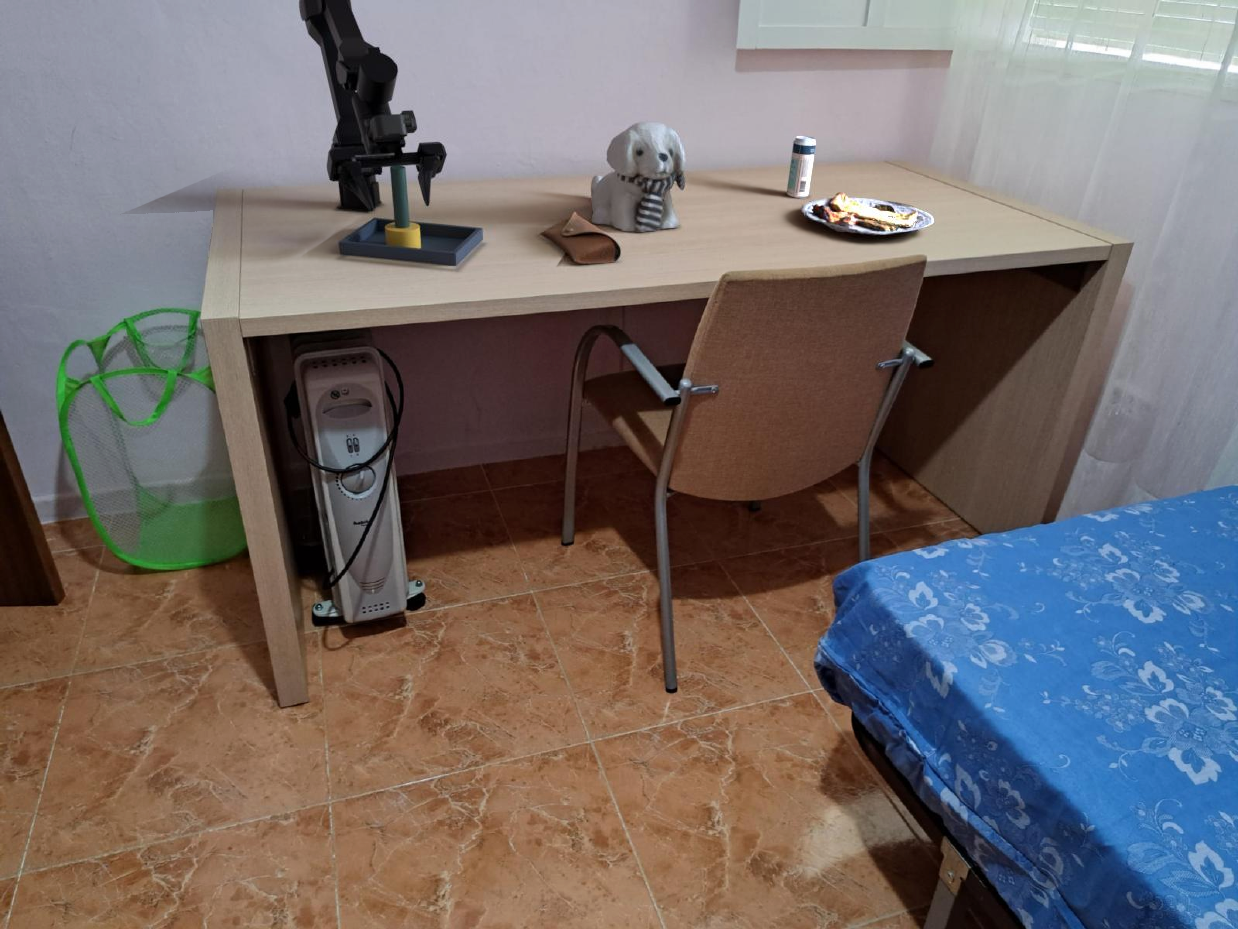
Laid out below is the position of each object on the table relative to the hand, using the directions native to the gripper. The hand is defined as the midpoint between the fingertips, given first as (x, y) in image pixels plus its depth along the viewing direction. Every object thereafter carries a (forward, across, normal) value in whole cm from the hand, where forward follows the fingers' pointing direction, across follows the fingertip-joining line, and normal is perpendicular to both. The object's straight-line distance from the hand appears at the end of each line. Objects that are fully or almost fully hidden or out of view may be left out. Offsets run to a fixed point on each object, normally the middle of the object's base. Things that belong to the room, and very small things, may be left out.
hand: (400, 207), depth 146 cm
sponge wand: (+4, 0, +5) cm, 7 cm away
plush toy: (0, +48, +12) cm, 49 cm away
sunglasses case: (+11, +28, 0) cm, 30 cm away
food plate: (+14, +89, -3) cm, 90 cm away
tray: (+5, +2, +6) cm, 8 cm away
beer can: (-1, +89, +12) cm, 90 cm away
